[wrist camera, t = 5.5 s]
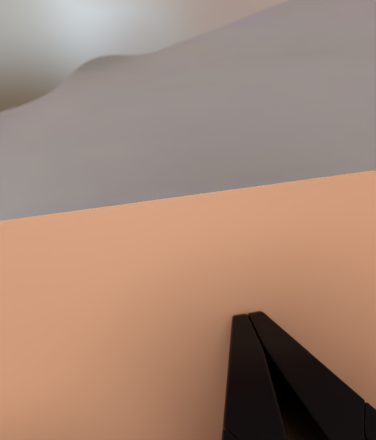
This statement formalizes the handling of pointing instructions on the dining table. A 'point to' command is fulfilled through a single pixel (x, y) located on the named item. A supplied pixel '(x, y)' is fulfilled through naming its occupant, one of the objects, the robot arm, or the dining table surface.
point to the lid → (178, 304)
